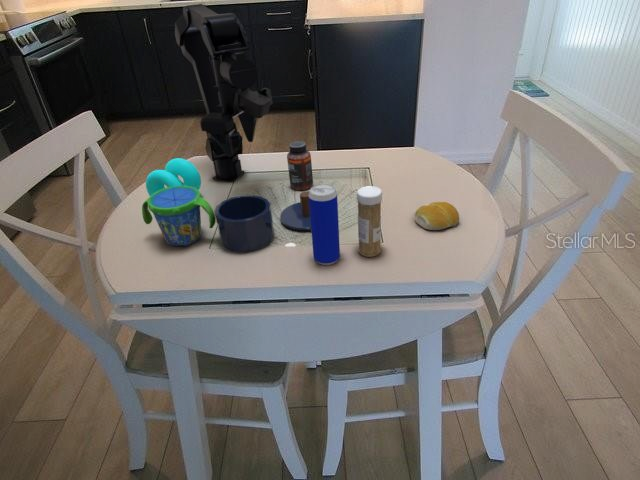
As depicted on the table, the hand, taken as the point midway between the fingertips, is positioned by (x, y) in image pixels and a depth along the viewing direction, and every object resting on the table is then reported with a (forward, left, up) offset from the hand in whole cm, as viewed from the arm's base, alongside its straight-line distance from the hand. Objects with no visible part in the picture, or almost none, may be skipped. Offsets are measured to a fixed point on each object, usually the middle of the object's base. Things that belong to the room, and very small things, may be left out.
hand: (240, 148), depth 106 cm
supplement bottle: (+10, +10, -13) cm, 19 cm away
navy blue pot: (+9, -16, -13) cm, 22 cm away
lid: (+18, -5, -12) cm, 22 cm away
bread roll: (+45, +2, -13) cm, 47 cm away
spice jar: (+35, -13, -13) cm, 40 cm away
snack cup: (-4, -20, -13) cm, 25 cm away
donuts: (-16, -6, -13) cm, 22 cm away
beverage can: (+28, -18, -13) cm, 36 cm away
